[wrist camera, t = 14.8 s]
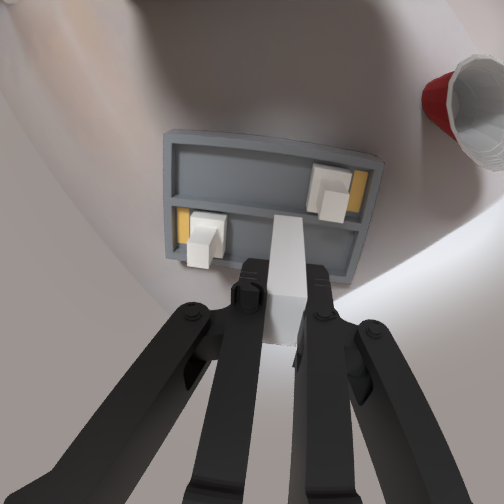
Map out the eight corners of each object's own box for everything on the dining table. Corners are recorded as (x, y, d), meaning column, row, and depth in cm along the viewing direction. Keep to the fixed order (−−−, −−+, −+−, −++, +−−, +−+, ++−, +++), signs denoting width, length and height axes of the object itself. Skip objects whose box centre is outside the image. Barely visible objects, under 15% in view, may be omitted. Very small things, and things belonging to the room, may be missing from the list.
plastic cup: (456, 49, 24) (515, 46, 13) (483, 129, 28) (542, 153, 18) (386, 71, 27) (431, 67, 17) (419, 154, 32) (468, 187, 21)
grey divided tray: (174, 129, 34) (163, 133, 31) (376, 155, 33) (384, 163, 30) (174, 245, 42) (165, 258, 39) (346, 269, 41) (350, 284, 38)
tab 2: (313, 162, 32) (318, 178, 27) (348, 168, 32) (360, 186, 27) (305, 204, 34) (308, 227, 29) (339, 209, 34) (348, 233, 29)
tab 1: (194, 209, 36) (179, 232, 31) (227, 213, 36) (217, 237, 31) (194, 245, 39) (180, 272, 34) (225, 250, 39) (215, 277, 34)
